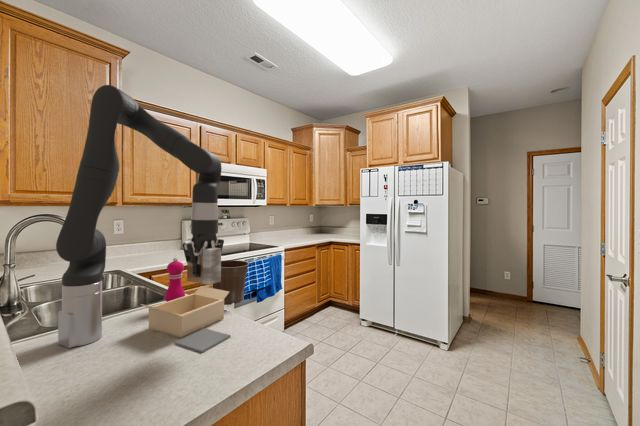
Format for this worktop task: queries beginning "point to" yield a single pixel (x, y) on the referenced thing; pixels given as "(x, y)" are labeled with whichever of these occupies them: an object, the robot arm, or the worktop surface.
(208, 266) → the block
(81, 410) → the worktop surface
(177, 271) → the pepper mill
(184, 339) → the plate
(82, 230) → the robot arm
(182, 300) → the carton
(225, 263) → the plant pot
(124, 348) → the worktop surface
